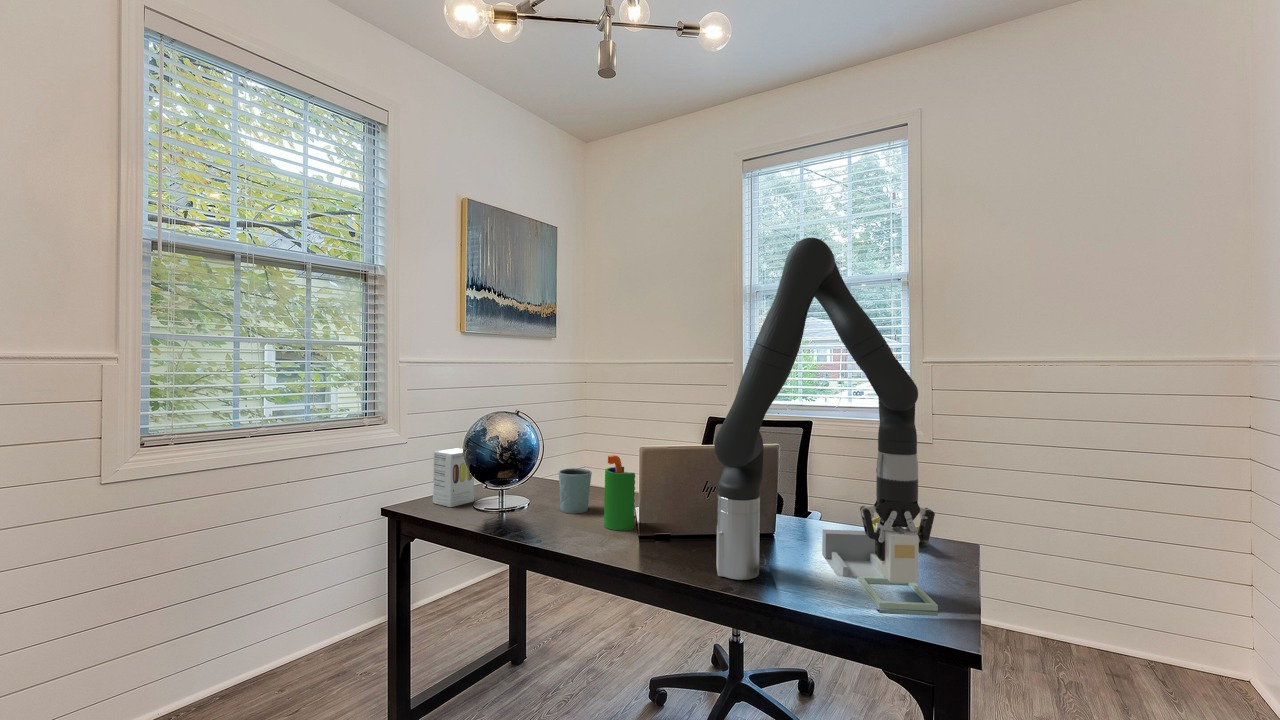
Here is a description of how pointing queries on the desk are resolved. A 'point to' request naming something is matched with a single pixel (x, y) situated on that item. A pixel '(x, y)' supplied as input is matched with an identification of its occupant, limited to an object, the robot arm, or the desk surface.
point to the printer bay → (854, 567)
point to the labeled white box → (900, 556)
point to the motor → (619, 497)
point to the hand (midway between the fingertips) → (896, 559)
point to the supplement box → (451, 479)
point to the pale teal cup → (574, 490)
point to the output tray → (927, 605)
